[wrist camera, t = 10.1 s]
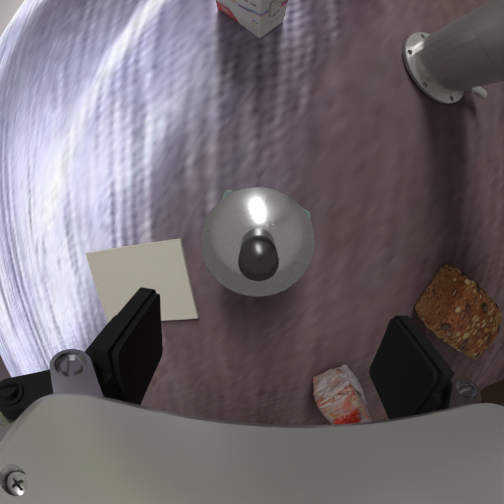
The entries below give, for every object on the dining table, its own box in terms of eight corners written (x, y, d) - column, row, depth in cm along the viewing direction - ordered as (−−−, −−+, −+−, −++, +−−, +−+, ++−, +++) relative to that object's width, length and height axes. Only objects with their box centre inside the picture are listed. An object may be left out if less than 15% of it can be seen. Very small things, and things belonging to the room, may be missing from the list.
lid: (316, 189, 25) (333, 196, 20) (307, 293, 29) (318, 322, 23) (202, 185, 25) (187, 191, 20) (204, 291, 29) (193, 319, 23)
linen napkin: (181, 238, 36) (180, 239, 36) (198, 315, 40) (197, 318, 39) (88, 252, 37) (86, 253, 36) (110, 319, 41) (108, 322, 40)
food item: (303, 375, 44) (312, 417, 34) (344, 353, 42) (361, 393, 33) (333, 411, 47) (343, 448, 37) (368, 393, 45) (383, 428, 36)
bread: (408, 308, 40) (438, 340, 30) (443, 256, 37) (480, 278, 27) (455, 341, 42) (480, 368, 33) (484, 300, 40) (513, 322, 30)
